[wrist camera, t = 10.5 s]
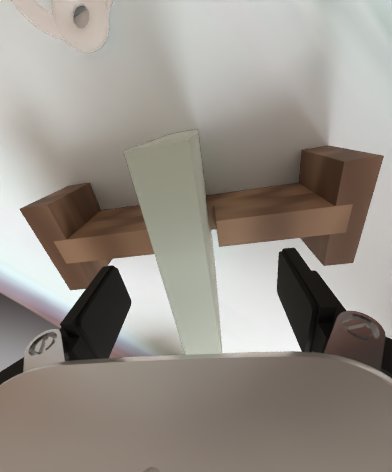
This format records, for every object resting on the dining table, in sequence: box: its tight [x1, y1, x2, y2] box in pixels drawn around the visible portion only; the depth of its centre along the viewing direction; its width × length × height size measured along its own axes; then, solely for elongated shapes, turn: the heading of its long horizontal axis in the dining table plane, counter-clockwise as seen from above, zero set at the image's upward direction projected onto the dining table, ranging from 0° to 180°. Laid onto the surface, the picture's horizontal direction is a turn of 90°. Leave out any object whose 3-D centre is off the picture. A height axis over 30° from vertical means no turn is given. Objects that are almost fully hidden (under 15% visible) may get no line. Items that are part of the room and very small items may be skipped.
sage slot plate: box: [123, 129, 222, 355], centre depth 15 cm, size 2×14×12 cm, turn 9°
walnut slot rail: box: [20, 146, 384, 290], centre depth 18 cm, size 24×8×6 cm, turn 99°
